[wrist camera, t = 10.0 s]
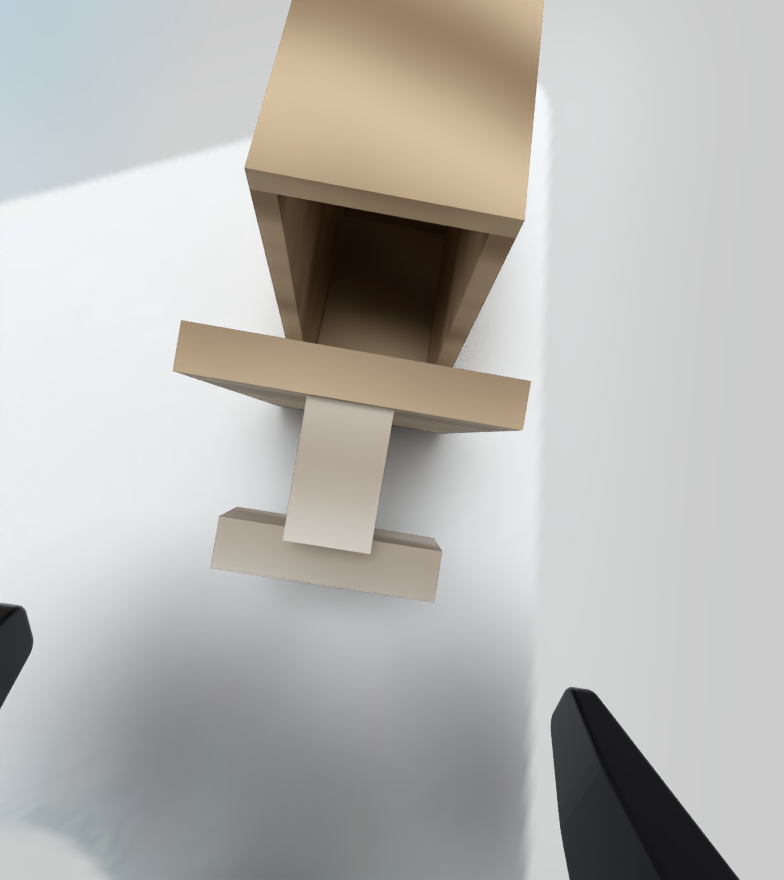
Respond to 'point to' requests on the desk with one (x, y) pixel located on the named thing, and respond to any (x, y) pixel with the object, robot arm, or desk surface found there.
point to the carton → (394, 167)
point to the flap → (341, 453)
